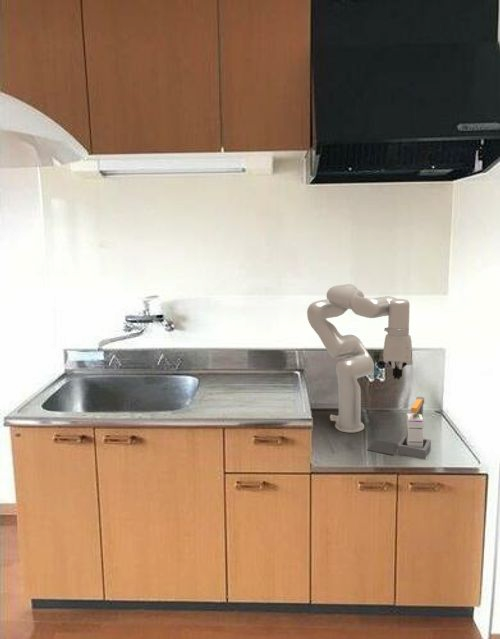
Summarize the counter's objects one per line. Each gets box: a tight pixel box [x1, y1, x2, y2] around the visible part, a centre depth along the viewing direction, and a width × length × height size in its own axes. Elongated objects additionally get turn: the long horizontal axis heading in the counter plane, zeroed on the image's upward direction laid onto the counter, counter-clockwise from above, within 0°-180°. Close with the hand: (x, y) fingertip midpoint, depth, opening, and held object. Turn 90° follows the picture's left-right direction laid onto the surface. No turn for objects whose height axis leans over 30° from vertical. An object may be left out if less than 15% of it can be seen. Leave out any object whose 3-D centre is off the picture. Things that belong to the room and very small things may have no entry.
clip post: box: [416, 404, 424, 419], centre depth 200 cm, size 6×5×16 cm
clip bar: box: [410, 396, 425, 414], centre depth 194 cm, size 3×14×2 cm, turn 150°
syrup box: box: [406, 413, 424, 449], centre depth 193 cm, size 6×6×14 cm
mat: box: [366, 439, 399, 456], centre depth 198 cm, size 10×10×1 cm
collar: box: [397, 434, 432, 460], centre depth 194 cm, size 10×10×4 cm
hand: (397, 377), depth 192 cm, fingers closed
